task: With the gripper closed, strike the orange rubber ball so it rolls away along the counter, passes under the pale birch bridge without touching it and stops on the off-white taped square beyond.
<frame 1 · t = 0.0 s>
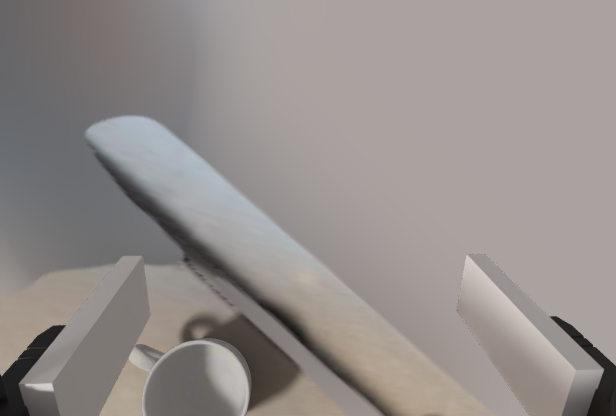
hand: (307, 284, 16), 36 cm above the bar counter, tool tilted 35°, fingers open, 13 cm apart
teacup: (200, 374, 48), on the bar counter
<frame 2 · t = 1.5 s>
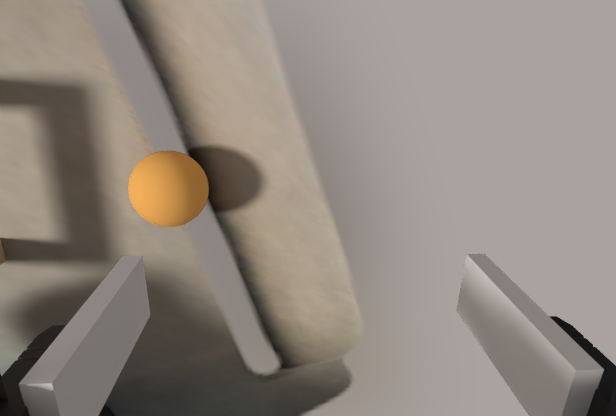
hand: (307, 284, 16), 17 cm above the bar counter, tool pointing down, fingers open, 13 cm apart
ball: (169, 188, 29), on the bar counter
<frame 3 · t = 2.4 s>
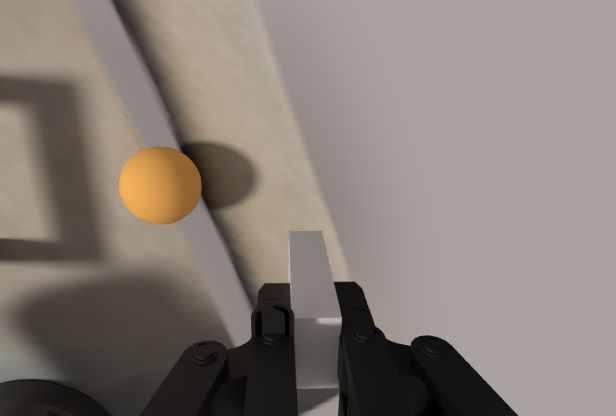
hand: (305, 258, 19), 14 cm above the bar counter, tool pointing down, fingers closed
ball: (161, 185, 29), on the bar counter
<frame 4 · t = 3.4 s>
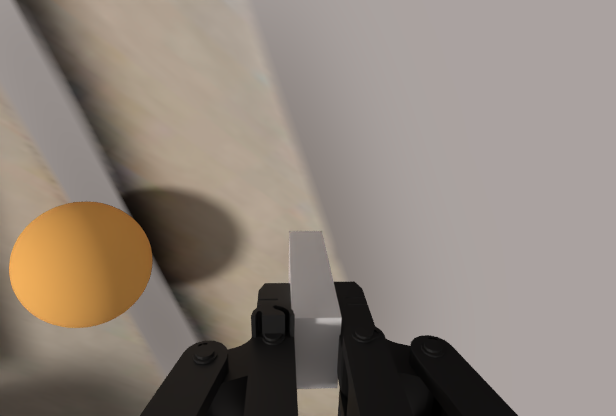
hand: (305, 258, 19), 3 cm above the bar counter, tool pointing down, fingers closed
ball: (86, 263, 18), on the bar counter
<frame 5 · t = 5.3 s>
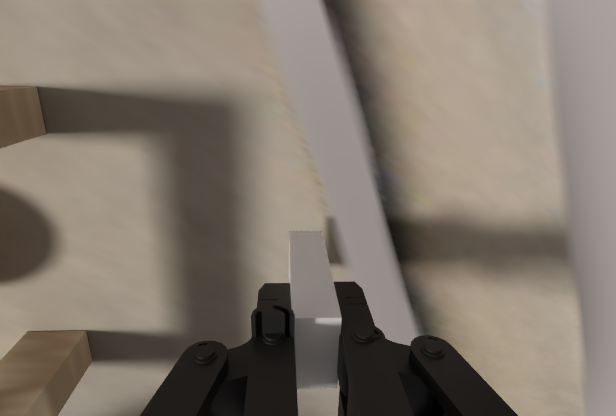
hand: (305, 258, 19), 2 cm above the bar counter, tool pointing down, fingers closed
bridge: (36, 241, 20), on the bar counter
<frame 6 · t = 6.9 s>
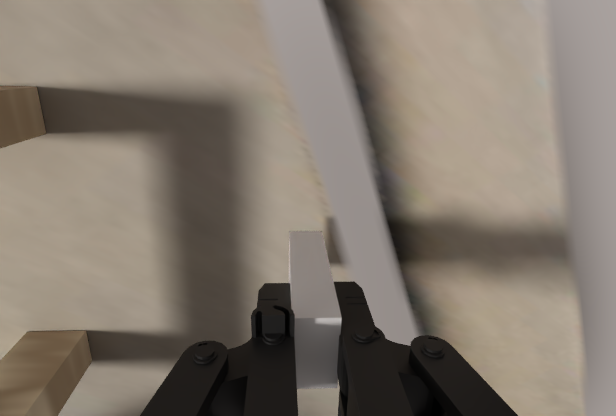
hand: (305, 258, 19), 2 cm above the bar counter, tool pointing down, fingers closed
bridge: (36, 241, 20), on the bar counter
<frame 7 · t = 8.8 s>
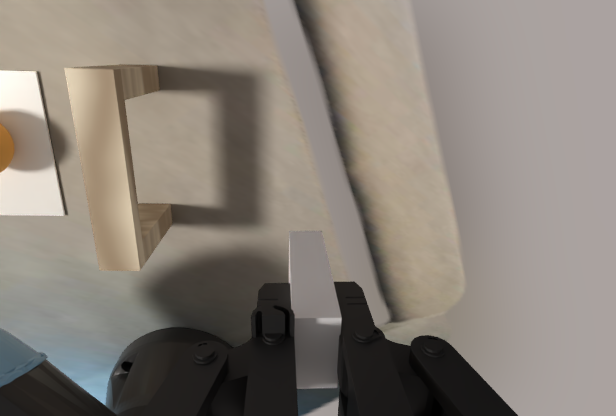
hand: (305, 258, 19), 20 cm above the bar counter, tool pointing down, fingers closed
bridge: (148, 149, 37), on the bar counter
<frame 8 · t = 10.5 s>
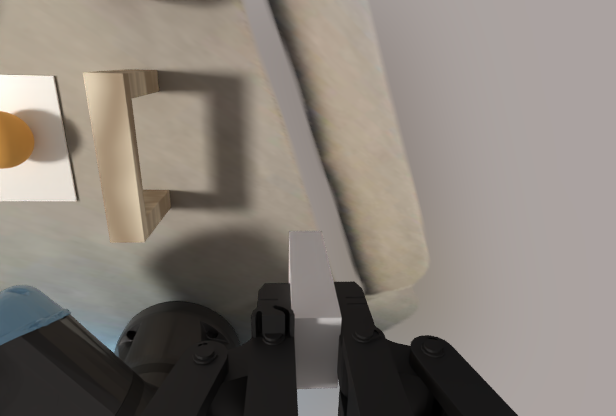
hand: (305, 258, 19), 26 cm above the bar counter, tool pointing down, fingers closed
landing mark: (1, 140, 41), on the bar counter
bridge: (149, 142, 42), on the bar counter
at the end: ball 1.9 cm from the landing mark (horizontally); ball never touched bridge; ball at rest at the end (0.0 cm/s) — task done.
